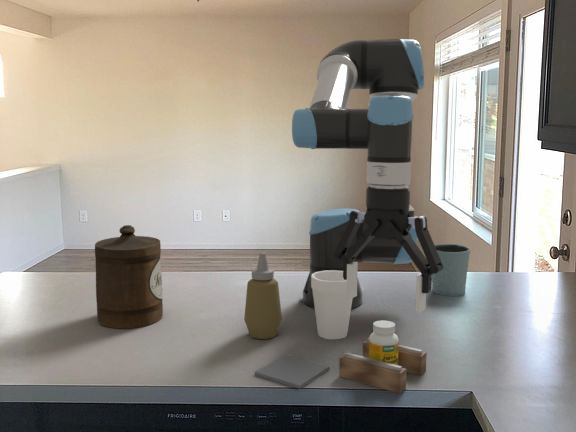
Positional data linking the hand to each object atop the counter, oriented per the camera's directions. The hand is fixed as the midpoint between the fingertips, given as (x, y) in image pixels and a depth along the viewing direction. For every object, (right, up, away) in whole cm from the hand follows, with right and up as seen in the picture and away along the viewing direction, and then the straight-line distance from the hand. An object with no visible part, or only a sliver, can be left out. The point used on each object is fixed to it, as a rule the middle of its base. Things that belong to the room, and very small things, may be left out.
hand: (384, 303), depth 110 cm
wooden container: (-54, -8, +33) cm, 64 cm away
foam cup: (-8, -10, +22) cm, 26 cm away
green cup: (+25, -5, +54) cm, 60 cm away
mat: (-17, -13, +3) cm, 21 cm away
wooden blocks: (0, -13, +3) cm, 13 cm away
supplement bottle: (0, -13, +3) cm, 14 cm away
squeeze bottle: (-23, -10, +22) cm, 33 cm away
